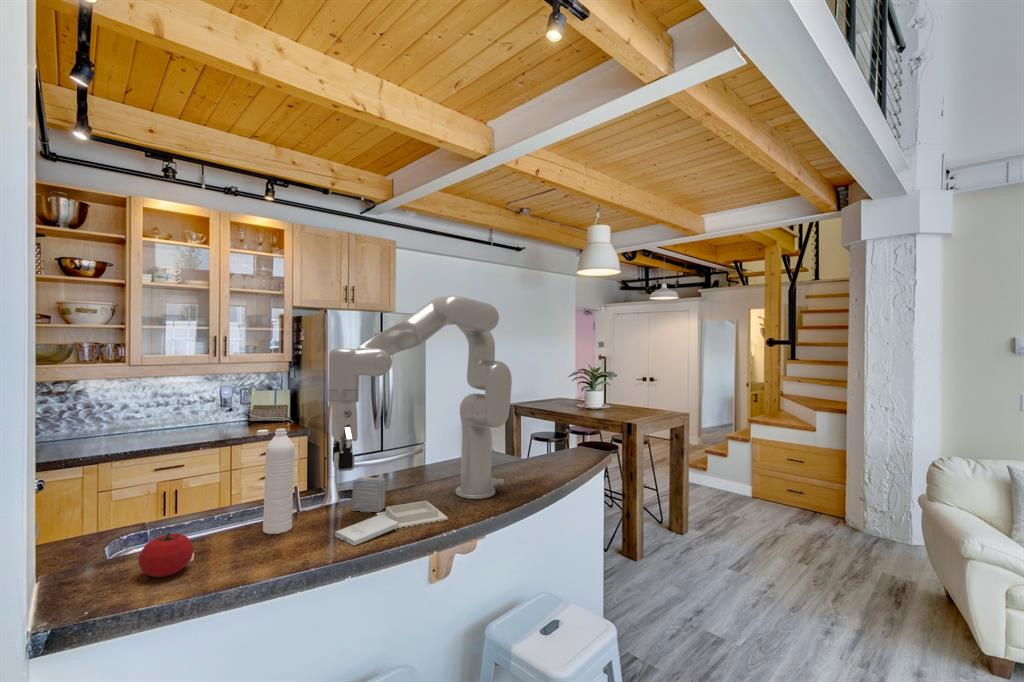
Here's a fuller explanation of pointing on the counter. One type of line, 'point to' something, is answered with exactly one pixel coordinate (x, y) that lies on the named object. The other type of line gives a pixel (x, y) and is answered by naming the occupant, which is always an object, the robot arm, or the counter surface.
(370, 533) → the external hard drive
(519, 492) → the counter surface
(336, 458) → the usb wall charger
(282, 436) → the water bottle
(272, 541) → the counter surface
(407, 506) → the outlet plate
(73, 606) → the counter surface
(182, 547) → the tomato
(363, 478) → the medicine box
